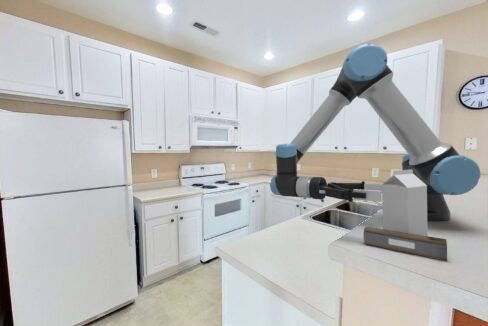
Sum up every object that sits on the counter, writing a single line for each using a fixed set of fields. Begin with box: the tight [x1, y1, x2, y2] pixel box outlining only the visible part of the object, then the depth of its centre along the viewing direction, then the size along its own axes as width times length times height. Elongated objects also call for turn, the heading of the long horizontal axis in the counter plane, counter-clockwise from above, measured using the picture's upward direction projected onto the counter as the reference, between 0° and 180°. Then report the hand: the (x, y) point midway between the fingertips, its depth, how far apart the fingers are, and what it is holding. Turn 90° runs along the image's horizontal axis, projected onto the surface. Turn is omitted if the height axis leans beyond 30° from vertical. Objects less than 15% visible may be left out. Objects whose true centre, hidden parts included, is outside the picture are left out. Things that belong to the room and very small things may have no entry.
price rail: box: [363, 226, 448, 262], centre depth 53 cm, size 3×16×4 cm, turn 50°
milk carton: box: [381, 169, 428, 236], centre depth 59 cm, size 7×7×19 cm
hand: (385, 192), depth 61 cm, fingers open, 13 cm apart
